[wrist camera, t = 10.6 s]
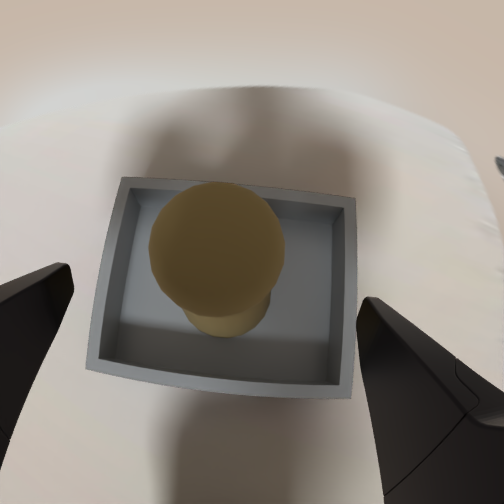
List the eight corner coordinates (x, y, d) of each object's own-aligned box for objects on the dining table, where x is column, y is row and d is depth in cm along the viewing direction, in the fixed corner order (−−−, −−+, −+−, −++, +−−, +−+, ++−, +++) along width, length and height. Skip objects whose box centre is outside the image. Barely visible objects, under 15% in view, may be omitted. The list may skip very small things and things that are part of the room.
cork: (167, 266, 22) (110, 190, 11) (250, 235, 23) (261, 137, 12) (198, 351, 20) (158, 352, 10) (285, 317, 21) (334, 282, 10)
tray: (340, 218, 24) (355, 198, 21) (334, 392, 20) (351, 398, 17) (135, 199, 24) (121, 176, 20) (106, 367, 20) (85, 369, 16)
